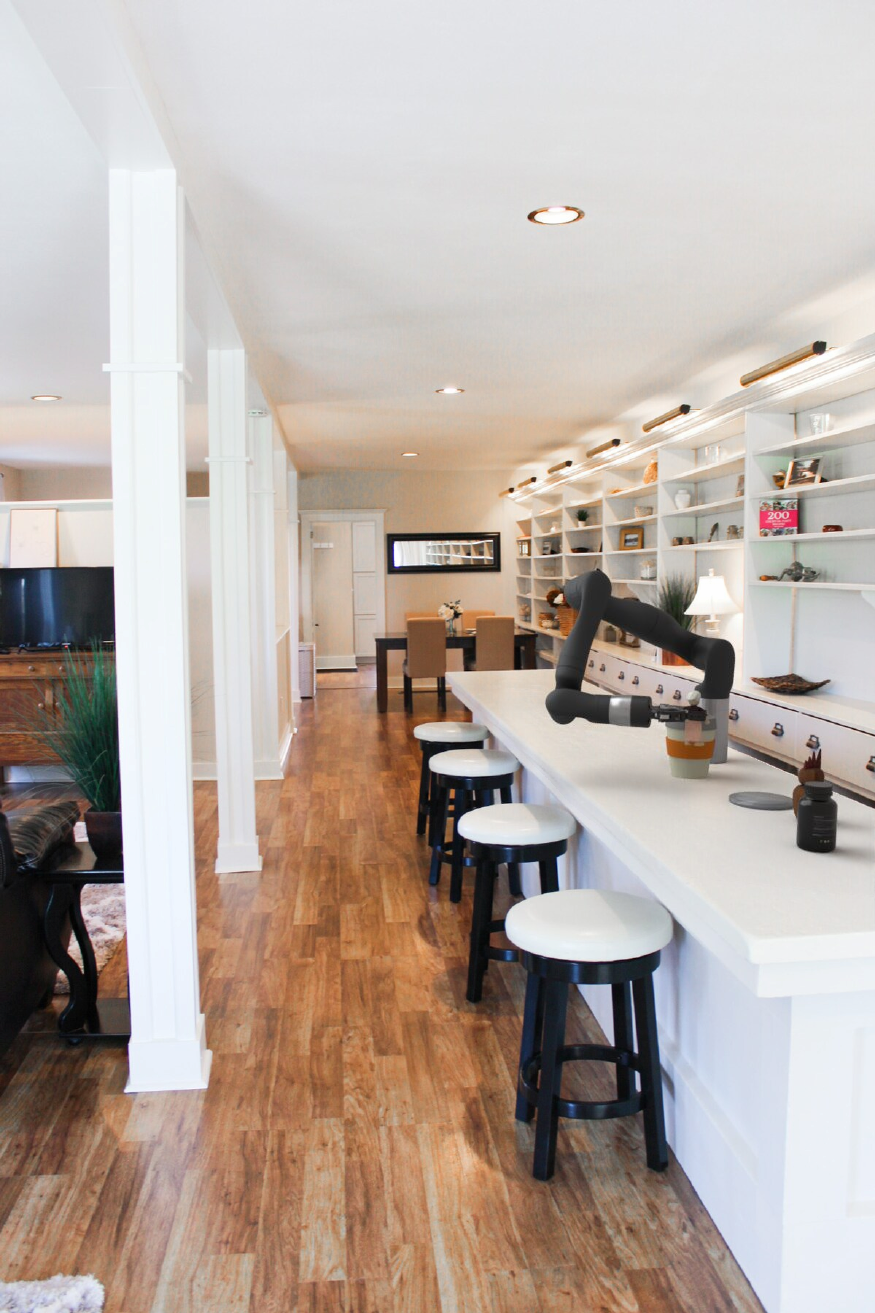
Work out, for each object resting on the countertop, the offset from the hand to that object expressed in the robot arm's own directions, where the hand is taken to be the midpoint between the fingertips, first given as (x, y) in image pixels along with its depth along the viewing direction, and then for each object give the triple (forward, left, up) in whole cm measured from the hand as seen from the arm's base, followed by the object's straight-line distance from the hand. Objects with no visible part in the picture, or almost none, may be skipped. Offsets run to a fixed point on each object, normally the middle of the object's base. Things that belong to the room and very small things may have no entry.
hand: (705, 715), depth 217 cm
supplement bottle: (+41, +22, -18) cm, 50 cm away
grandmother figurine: (0, -3, -7) cm, 8 cm away
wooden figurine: (+21, +22, -18) cm, 35 cm away
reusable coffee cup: (-17, -4, -18) cm, 25 cm away
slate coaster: (+7, +13, -18) cm, 23 cm away
